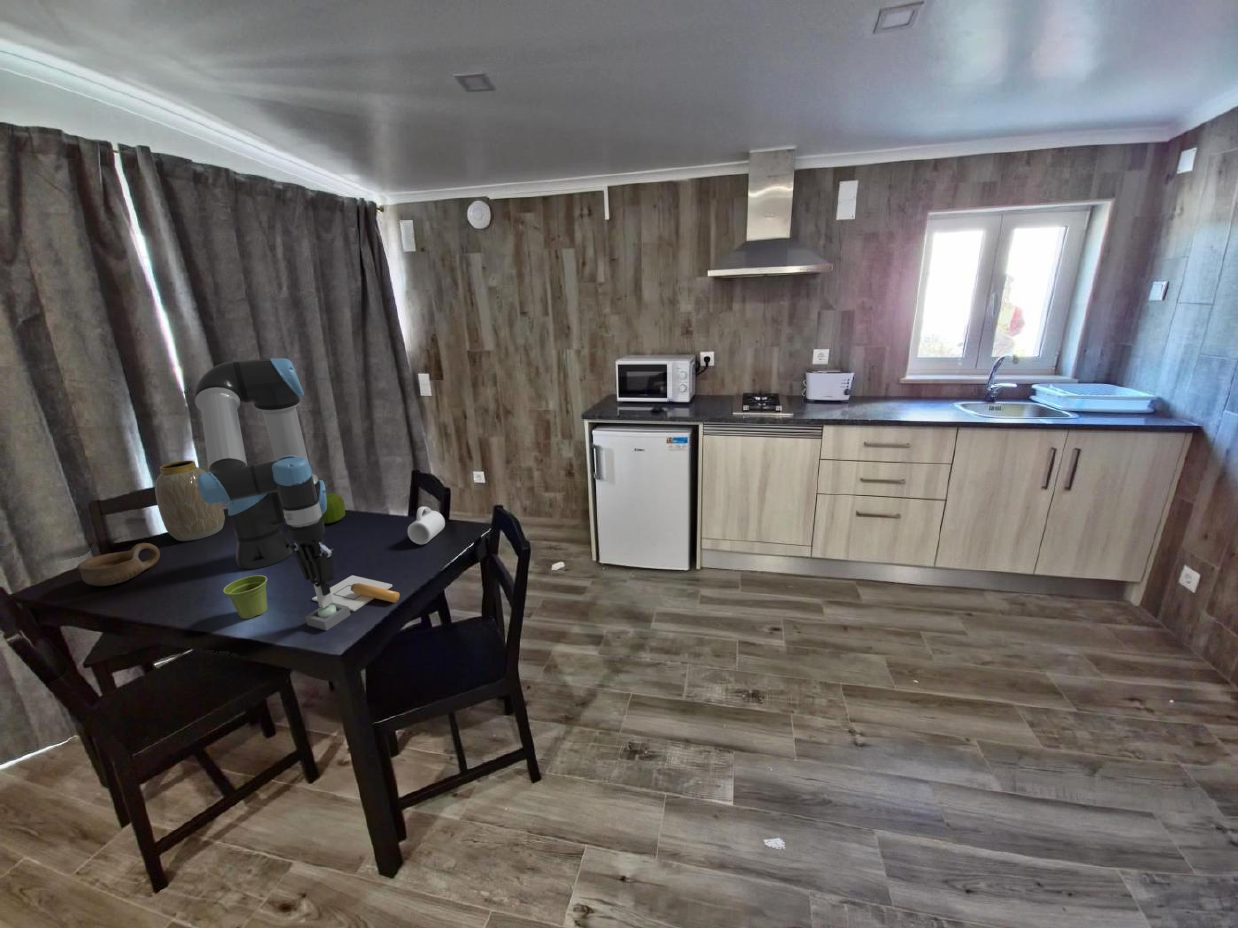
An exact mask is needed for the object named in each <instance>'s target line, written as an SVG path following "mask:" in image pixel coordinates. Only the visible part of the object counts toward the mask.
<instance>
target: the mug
mask: <svg viewBox="0 0 1238 928" xmlns="http://www.w3.org/2000/svg"><path fill="white" fill-rule="evenodd" d="M424 511H425V513H423V512H424ZM445 521H446V520H445V517H444V516H443V515H442V514H441V513H440V512H438V511H436V510H432V509H431V508H430V507H427V506H420V507H419V508H418V509H417V511H416V520H414V521H413V522H412V523H410V524H409V525H408V527H407V536H408V538H409V540H411V541H412V542H413V543H414V544H417V545H421V546H422V545H425V544H428V542H430V541H431V540H432V539H433V538H434V537H436V536H437V535H438V534H439V533H440V532H442V531H443V530H444V528H445V525H446V522H445Z"/></svg>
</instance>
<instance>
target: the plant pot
mask: <svg viewBox="0 0 1238 928" xmlns="http://www.w3.org/2000/svg"><path fill="white" fill-rule="evenodd" d="M267 582H268V577H267V576H265V575H262V574H259V575H250V576H246V577H242V578H240V579H237V580H234V581H232V582H230V583H229V584H227V585H226V586H224V588H223V590H222V592H223V593H224V594H225V595H226V596H227V597H228V598H229V599H230V601H231V603H232V605H233V607H234V609H235V610H236V612H237V614H238V616H239V617H240V618H241V619H243V620H248V619H253V618H254V617H256V616H260V615H261V616H262V615H263V614H264V613H266V611H268V601H267V600H268V599H267V588H266V587H267Z"/></svg>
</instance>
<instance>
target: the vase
mask: <svg viewBox="0 0 1238 928" xmlns="http://www.w3.org/2000/svg"><path fill="white" fill-rule="evenodd" d="M159 471H160V474H159V475H158V476H157V478H156V480H155V482H154V494H155V499H156V504H157V507H158V511H159V515H160V518H161V520H162V523H163V525H164V528H165V530H166V532H167V533H168V534H169V535H170V536H171V537H172V538H173V539H175V540H177V541H180V542H190V541H196V540H197V541H198V540H201V539H205V538H208V537H211V536H213V535H215V534H217V533H219V532H220V531H221V530H222V529H223V528H224V524H225V521H226V520H225V518H226V516H225V512H224V511H225V510H224V508H223V503H214V504H208V503H206V502H205V501H204V500H203V498H202V496H201V494H200V490H199V487H198V481H197V479H198V476H199V475H200V474H203V473H206V472H207V471H205V469H203V468H200V467H198V466H197V464H196V462H195V460H181V461H174V462H169V463H166V464H163V465H161V466H160V467H159Z"/></svg>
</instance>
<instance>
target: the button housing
mask: <svg viewBox="0 0 1238 928" xmlns="http://www.w3.org/2000/svg"><path fill="white" fill-rule="evenodd" d="M329 605H335V607H336V611H337V612H336V613H334V614H333V615H331V616H329V617H328V618H326V619H323V618H320V617H319V615H318V610H319V609H320V608H322V607H319V608H317V609H316V610H313V611H312V612H311V613H310V612H309V614H307V615H305V622H306V625H307V626H309V627H313V628H316V629H320V630H324V631H329V630H330V629H332V628H333V627H335V626H336V625H337V624H339V623H341V622H343V621H344V620H345V619H346V618H349V617H350V616H351V615H352V614H351V610H349V607H348V606H344V605H340V604H337V603H333V602H332V603H331V604H329Z"/></svg>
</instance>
